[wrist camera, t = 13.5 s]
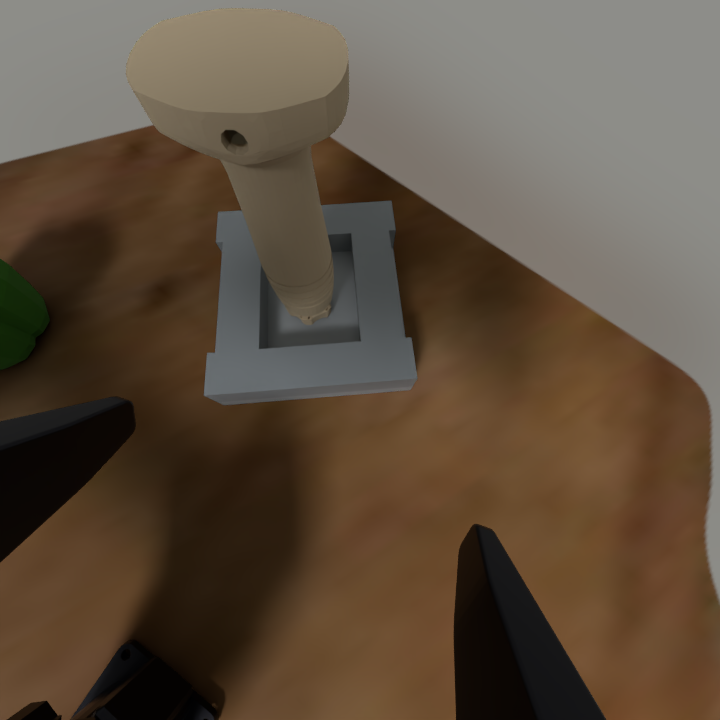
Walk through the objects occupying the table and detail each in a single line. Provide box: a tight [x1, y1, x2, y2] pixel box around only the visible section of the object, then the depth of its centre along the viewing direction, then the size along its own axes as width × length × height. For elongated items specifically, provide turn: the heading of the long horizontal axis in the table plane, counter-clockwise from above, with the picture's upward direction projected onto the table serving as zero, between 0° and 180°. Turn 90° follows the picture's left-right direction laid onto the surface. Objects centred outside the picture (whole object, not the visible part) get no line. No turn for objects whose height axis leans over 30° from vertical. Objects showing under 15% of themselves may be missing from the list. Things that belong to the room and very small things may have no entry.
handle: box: [126, 8, 349, 325], centre depth 16 cm, size 5×6×15 cm
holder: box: [204, 201, 417, 405], centre depth 23 cm, size 14×13×3 cm
